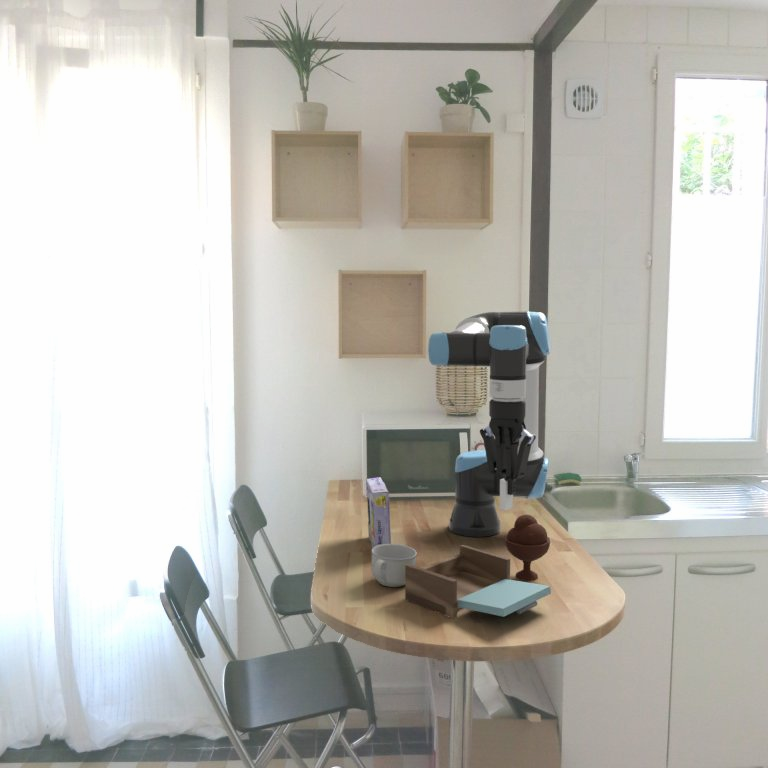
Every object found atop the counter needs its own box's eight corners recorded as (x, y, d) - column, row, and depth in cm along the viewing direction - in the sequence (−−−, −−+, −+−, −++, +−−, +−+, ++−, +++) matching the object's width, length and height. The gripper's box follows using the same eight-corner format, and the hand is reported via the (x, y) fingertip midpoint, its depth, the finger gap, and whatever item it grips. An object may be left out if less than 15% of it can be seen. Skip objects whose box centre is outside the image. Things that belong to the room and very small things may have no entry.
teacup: (390, 571, 179) (390, 539, 178) (425, 581, 172) (425, 548, 171) (353, 587, 168) (353, 554, 167) (389, 599, 161) (389, 564, 161)
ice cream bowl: (495, 577, 174) (495, 516, 173) (521, 565, 182) (522, 507, 181) (532, 588, 167) (533, 526, 165) (558, 576, 175) (559, 516, 173)
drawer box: (462, 576, 175) (462, 544, 174) (509, 592, 165) (510, 558, 164) (405, 599, 161) (405, 565, 160) (453, 618, 151) (453, 581, 150)
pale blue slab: (505, 578, 163) (550, 586, 155) (506, 591, 163) (551, 599, 155) (457, 599, 152) (503, 608, 143) (458, 612, 152) (504, 622, 143)
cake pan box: (366, 536, 207) (365, 476, 205) (383, 535, 208) (383, 475, 206) (373, 558, 188) (372, 492, 186) (392, 557, 189) (391, 491, 187)
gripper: (471, 398, 152) (471, 506, 155) (523, 403, 143) (521, 518, 146) (493, 394, 158) (492, 499, 160) (544, 399, 149) (542, 510, 151)
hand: (506, 508), depth 153 cm, fingers closed
